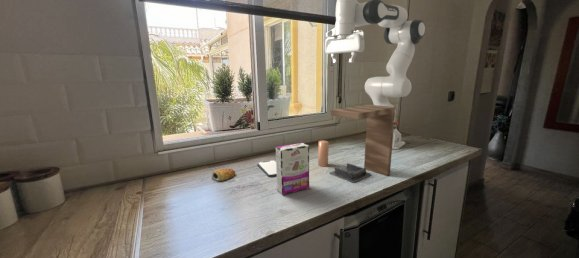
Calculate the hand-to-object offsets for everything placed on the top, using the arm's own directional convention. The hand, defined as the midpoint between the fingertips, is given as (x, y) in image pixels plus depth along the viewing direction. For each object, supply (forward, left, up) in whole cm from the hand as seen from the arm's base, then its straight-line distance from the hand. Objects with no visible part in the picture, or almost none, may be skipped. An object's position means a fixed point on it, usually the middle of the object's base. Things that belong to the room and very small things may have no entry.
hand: (343, 63), depth 119 cm
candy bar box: (+42, +13, -46) cm, 64 cm away
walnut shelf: (+15, +23, -46) cm, 53 cm away
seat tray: (+15, +18, -46) cm, 51 cm away
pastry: (+56, -14, -46) cm, 74 cm away
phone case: (+36, -8, -46) cm, 59 cm away
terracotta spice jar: (+15, +3, -46) cm, 48 cm away
